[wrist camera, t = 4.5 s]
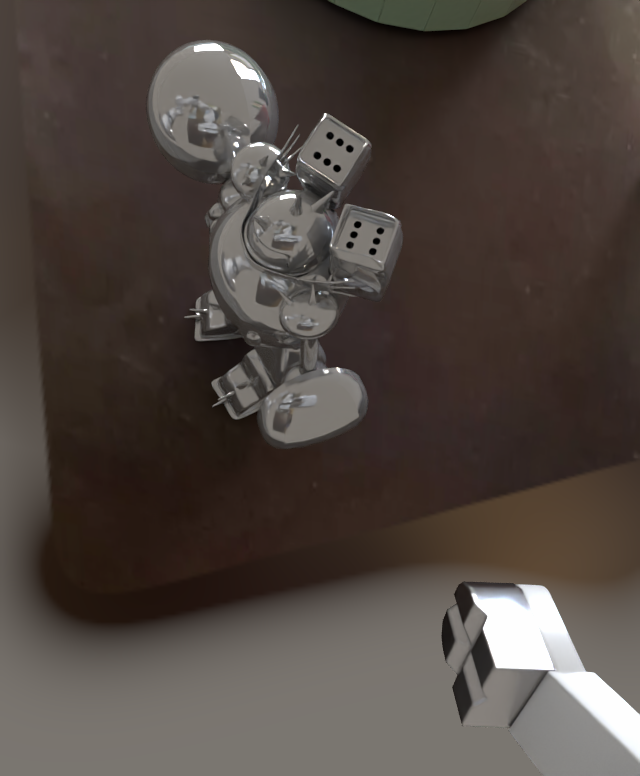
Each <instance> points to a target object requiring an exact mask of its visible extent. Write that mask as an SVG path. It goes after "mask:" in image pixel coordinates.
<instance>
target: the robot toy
mask: <svg viewBox="0 0 640 776" xmlns="http://www.w3.org/2000/svg"><path fill="white" fill-rule="evenodd" d="M146 114H147V121H148V125H149V129H150V132H151V134H152V137H153V139H154V141H155V143H156V145H157V147H158V148H159V150H160V152H161V153H162V155H163V156H164V157H165V159H166V160H167V161H168V162H169V163H170V164H171V165H172V166H173V167H174V168H175V169H176V170H177V171H179V172H180V173H182V174H183V175H185V176H187V177H189V178H191V179H193V180H195V181H199V182H202V183H207V184H215V185H218V184H223V185H222V186H221V188H220V191H219V195H218V200H217V203H215V204H214V205H213V206H212V207H211V208H210V209H209V211H208V212H207V214H206V215H205V221H206V225H207V227H210V228H209V234H210V238H209V242H210V244H209V257H208V268H209V277H210V282H211V286H212V290H210V291H208V292H206V293H205V294H203V295H202V296H201V297H200V298H198V299H197V300H196V309H189V310H190V311H192V312H195V313H196V315H191V316H186V317H184V318H186V319H195V340H196V341H198V342H204V341H217V340H228V339H237V338H244V340H245V342H246V343H247V344H248V345H250V346H254V348H253V349H252V350H250V351H249V352H248V353H247V354H246V355H245V356H244V357H243V359H242V361H241V362H239V363H238V364H237V365H235V366H234V367H233V368H231V369H230V370H229V371H227V372H226V373H225V374H224V375H223V376H221V377H219V378H217V379H215V380H213V381H212V382H211V385H212V387H213V389H214V390H215V392H216V393H217V395H218V396H219V399H218V400H220V401H219V402H217V403H215V404H214V405H213V406H212V407H215V406H218V405H220V404H224V405H225V407H226V409H227V411H228V412H229V414H230V416H231V417H232V418H233V419H235V420H238V419H241V418H244V417H246V416H248V415H250V414H253V413H255V412H257V411H258V413H257V423H258V426H259V429H260V432H261V435H262V437H263V438H264V440H265V441H266V443H267V444H269V445H270V446H272V447H274V448H279V449H285V450H286V449H294V448H302V447H306V446H310V445H314V444H318V443H321V442H324V441H327V440H330V439H332V438H335V437H338V436H340V435H342V434H344V433H346V432H348V431H350V430H351V429H353V428H355V427H356V426H357V425H358V424H359V423H360V422H361V421H362V420H363V419H364V417H365V415H366V412H367V408H368V398H367V393H366V389H365V387H364V385H363V383H362V381H361V379H360V377H359V375H358V374H356V373H355V372H354V371H351V370H348V369H342V368H327V367H326V366H325V363H326V355H325V353H324V351H323V349H322V347H321V346H320V344H319V339H320V337H322V336H324V335H326V334H328V333H329V332H330V331H332V330H333V329H334V327H335V326H336V325H337V323H338V321H339V318H340V315H341V313H342V311H343V310H344V308H345V306H346V303H347V301H348V298H349V296H353V297H356V296H357V297H360V298H363V299H367V300H370V301H374V302H380V301H381V300H382V299H383V297H384V294H385V292H386V289H387V287H388V285H389V282H390V279H391V276H392V274H393V271H394V268H395V265H396V262H397V259H398V257H399V254H400V251H401V248H402V244H403V234H402V230H401V222H400V221H399V220H398V219H396V218H395V217H393V216H391V215H389V214H387V213H384V212H381V211H376V210H371V209H366V208H362V207H358V206H355V205H351V204H345V206H344V208H343V211H342V214H341V216H340V219H339V218H338V216H337V213H336V212H335V211H334V210H333V209H338V208H340V207H341V206H342V205H343V203H344V202H345V200H346V198H347V197H348V195H349V194H350V192H351V191H352V189H353V188H354V186H355V184H356V183H357V181H358V180H359V178H360V177H361V175H362V173H363V172H364V170H365V168H366V166H367V164H368V162H369V159H370V156H371V143H370V142H369V141H368V140H367V139H366V138H364V137H363V136H361V135H360V134H358V133H357V132H355V131H354V130H352V129H351V128H349V127H348V126H346V125H345V124H343V123H342V122H340V121H339V120H337V119H335V118H334V117H332V116H331V115H329V114H327V113H324V114H323V115H322V117H321V118H320V120H319V121H318V123H317V125H316V126H315V128H314V129H313V131H312V132H311V134H310V135H309V137H308V139H307V140H306V142H305V143H304V145H303V147H300V148H299V149H298V150H297V151H296V152H295V153H293V154H292V155H291V156H290V157H289V158H288V159H287V158H286V156H287V155H288V153H289V152H290V150H291V148H292V147H293V145H294V144H295V143H296V141H297V139H298V138H299V136H300V135H298V137H297V138H296V139H295V141H294V142H293V143H292V145H291V146H290V147H289V149H288V150H287V151H286V152H285V154H284V151H285V149H286V148H287V146H288V144H289V142H290V140H291V138H292V137H293V135H294V133H295V131H296V129H297V127H298V125H297V126H296V128H295V129H294V131H293V133H292V134H291V136H290V138H289V139H288V141H287V142H286V144H285V146H284V147H283V149H282V150H280V149H279V148H278V147H276V146H274V145H273V144H274V142H275V139H276V135H277V131H278V122H279V112H278V104H277V99H276V95H275V92H274V89H273V87H272V84H271V82H270V81H269V79H268V77H267V75H266V74H265V73H264V71H263V70H262V69H261V67H260V66H259V65H258V64H257V63H256V62H255V61H254V60H253V59H252V58H251V57H250V56H249V55H248V54H247V53H245V52H244V51H242V50H241V49H239V48H237V47H235V46H233V45H231V44H228V43H224V42H221V41H216V40H198V41H193V42H189V43H187V44H184V45H182V46H180V47H179V48H177V49H175V50H173V51H172V52H171V53H170V54H168V55H167V56H166V57H165V58H164V59H163V60H162V61H161V63H160V64H159V66H158V67H157V69H156V70H155V72H154V75H153V77H152V79H151V82H150V84H149V87H148V92H147V97H146ZM300 149H301V150H300ZM299 150H300V152H299V154H298V157H297V164H296V169H295V173H294V172H292V171H290V166H289V162H288V161H289V160H290V159H291V158H292V157H293V156H294V155H295V154H296V153H297V152H298V151H299ZM294 175H296V176H297V179H298V180H299V182H300V184H301V186H302V187H303V190H298V189H289V188H286V187H287V185H288V183H289V179H290V176H294ZM331 208H332V209H331Z"/></svg>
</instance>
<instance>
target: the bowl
mask: <svg viewBox="0 0 640 776" xmlns="http://www.w3.org/2000/svg"><path fill="white" fill-rule="evenodd" d="M328 1H330V2H331V3H332V4H335V5H337V6H340V7H342V8H344V9H347V10H349V11H352V12H354V13H356V14H359V15H361V16H363V17H366V18H368V19H370V20H373V21H375V22H379V23H382V24H388V25H393V26H398V27H404V28H409V29H415V30H420V31H441V30H459V29H468V28H471V27H474V26H477V25H480V24H483V23H486V22H489V21H492V20H495V19H498V18H501V17H504V16H506V15H507V14H509V13H510V12H511V11H513V10H514V9H516V8H517V7H518V6H520V5H521V4H523V3H524V2H525V1H527V0H328Z"/></svg>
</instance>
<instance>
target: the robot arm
mask: <svg viewBox="0 0 640 776" xmlns="http://www.w3.org/2000/svg"><path fill="white" fill-rule="evenodd" d="M454 595H455V598H456V602H457V604H455V605H453V606H452V607H450V608H449V609H447V612H446V614H445V617H444V619H443V625H442V645H443V651H444V655H445V660H446V663H447V664H448V665H449V666H450V667H451V668H452V669H453V671H454V672H455V673H456V674H457V678H456V680H455V682H454V685H453V687H452V688H453V692H454V696H455V700H456V704H457V707H458V711H459V715H460V719H461V723H462V726H473V727H475V726H476V727H497V728H510V729H509V732H510V734H511V735H512V736H513V737H514V739H515V740H516V741H517V743H518V744H519V745H520V747H521V748H522V749H523V750H524V752H525V753H526V754H527V756H528V757H529V758H530V760H531V761H532V762H533V763H534V765H535V766H536V767H537V769H538V770H539V771H540V773H541V774H542V775H543V776H640V714H639V713H637V712H636V711H635V710H634V709H633V708H632V707H631V706H630V705H629V704H628V703H626V701H624V700H623V699H622V698H621V697H620V696H619V695H618V694H617V693H616V692H615V691H614V690H612V689H611V688H610V687H609V686H608V685H607V684H606V683H605V682H604V681H603V680H602V679H600V678H599V677H598V676H597V675H596V674H595V673H593V672H586V671H585V668H584V667H583V664H582V662H581V660H580V658H579V655H578V654H577V651H576V649H575V647H574V645H573V642H572V640H571V638H570V636H569V634H568V632H567V629H566V627H565V625H564V623H563V621H562V619H561V616H560V614H559V612H558V610H557V608H556V606H555V604H554V601H553V600H552V597H551V595H550V593H549V591H548V590H547V589H546V588H545V587H544V586H540V585H518V584H517V585H515V584H513V583H486V582H462V583H461V584H459V586H458V587H457V590H456V591H455V594H454Z"/></svg>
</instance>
